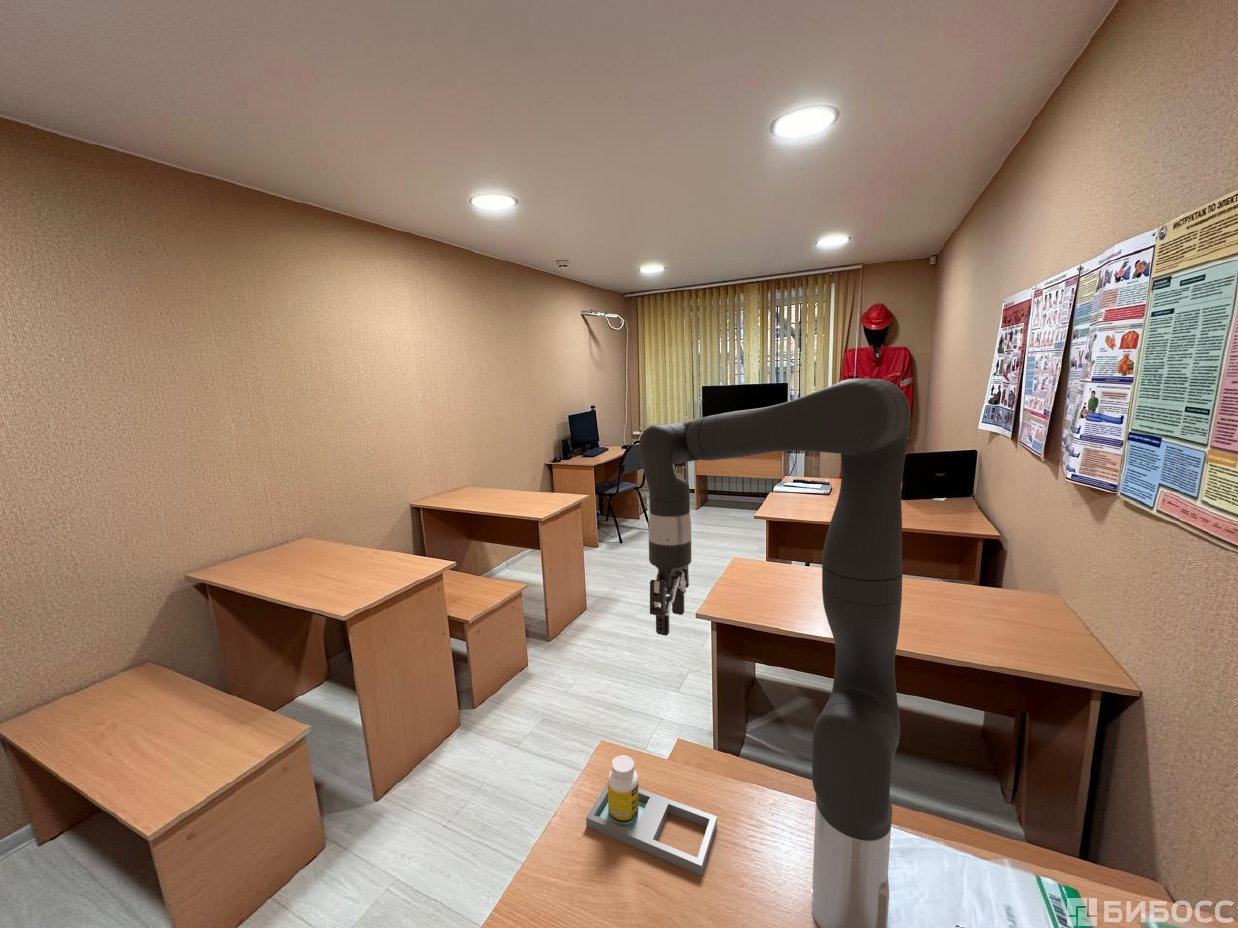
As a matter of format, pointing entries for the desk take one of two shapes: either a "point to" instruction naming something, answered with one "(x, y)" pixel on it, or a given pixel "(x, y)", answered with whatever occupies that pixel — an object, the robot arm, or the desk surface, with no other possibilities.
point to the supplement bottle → (623, 791)
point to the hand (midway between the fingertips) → (670, 623)
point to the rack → (654, 828)
